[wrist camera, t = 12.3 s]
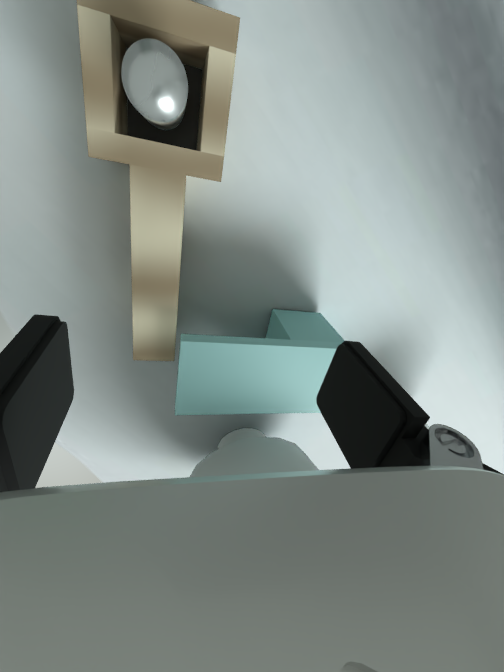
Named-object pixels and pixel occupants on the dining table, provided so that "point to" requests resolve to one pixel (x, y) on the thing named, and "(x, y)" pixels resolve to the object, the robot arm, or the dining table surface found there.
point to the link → (153, 157)
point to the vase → (253, 456)
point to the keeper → (257, 368)
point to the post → (155, 82)
